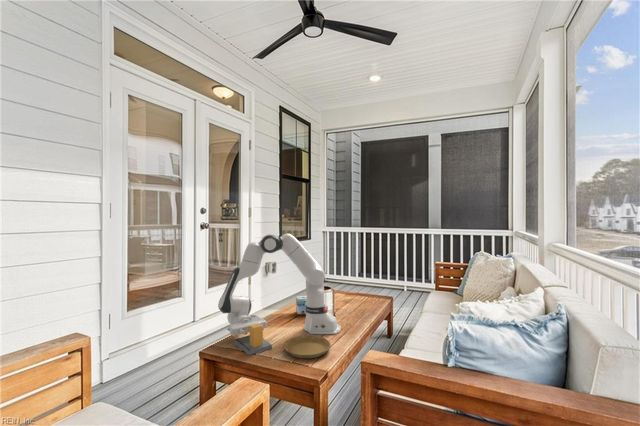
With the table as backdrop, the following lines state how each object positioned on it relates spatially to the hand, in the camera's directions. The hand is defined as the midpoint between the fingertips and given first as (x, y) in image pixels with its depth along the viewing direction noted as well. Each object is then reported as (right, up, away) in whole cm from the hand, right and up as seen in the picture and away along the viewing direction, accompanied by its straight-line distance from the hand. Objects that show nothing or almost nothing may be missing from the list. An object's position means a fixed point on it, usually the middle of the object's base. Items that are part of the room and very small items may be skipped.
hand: (254, 331), depth 170 cm
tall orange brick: (+1, -7, -1) cm, 7 cm away
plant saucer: (+28, -9, -4) cm, 30 cm away
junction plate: (-1, -8, +2) cm, 9 cm away
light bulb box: (+24, -8, +57) cm, 62 cm away
